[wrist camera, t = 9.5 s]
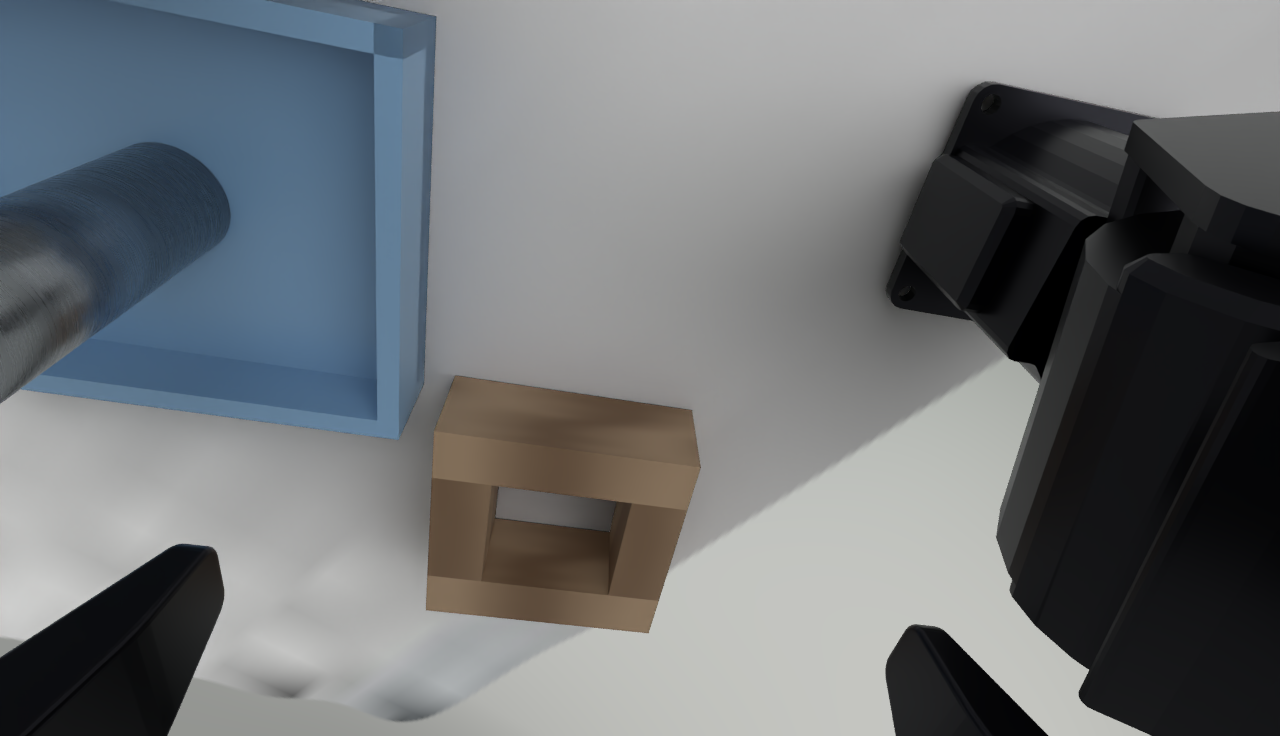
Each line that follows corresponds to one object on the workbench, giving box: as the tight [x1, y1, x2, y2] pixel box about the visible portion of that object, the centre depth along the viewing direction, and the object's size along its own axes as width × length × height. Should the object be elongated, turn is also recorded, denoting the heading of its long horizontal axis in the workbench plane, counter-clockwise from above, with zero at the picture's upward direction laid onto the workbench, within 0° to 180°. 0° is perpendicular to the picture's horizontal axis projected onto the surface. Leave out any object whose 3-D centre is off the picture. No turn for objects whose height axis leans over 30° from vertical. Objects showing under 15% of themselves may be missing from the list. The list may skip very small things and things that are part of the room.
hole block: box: [426, 376, 701, 633], centre depth 23 cm, size 8×8×3 cm
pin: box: [0, 142, 231, 403], centre depth 13 cm, size 4×4×11 cm
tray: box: [0, 0, 436, 440], centre depth 17 cm, size 13×11×3 cm
